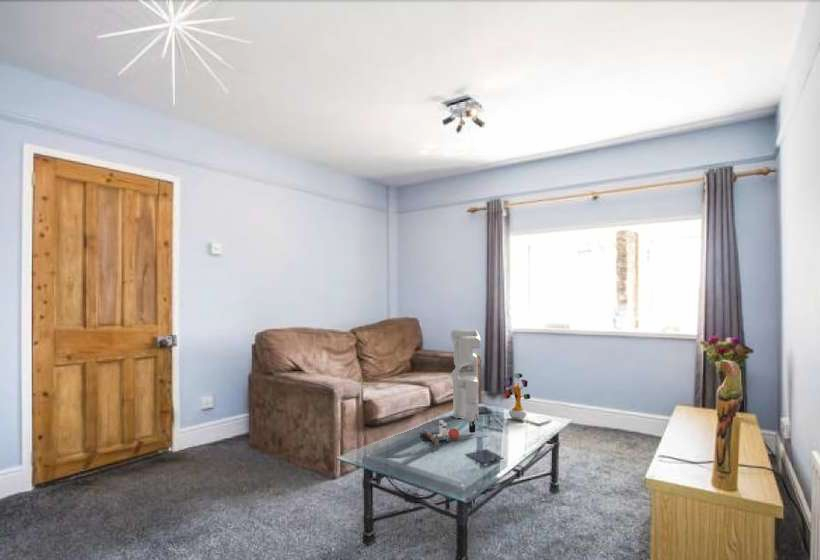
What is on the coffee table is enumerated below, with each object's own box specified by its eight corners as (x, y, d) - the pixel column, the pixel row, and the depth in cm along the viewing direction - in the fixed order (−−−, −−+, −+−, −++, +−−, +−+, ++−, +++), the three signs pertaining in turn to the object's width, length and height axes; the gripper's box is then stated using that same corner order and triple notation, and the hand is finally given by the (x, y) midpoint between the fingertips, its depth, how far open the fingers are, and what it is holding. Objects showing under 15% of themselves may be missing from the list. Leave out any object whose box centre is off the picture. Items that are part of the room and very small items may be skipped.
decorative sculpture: (500, 417, 291) (500, 371, 293) (508, 415, 296) (508, 370, 297) (525, 424, 275) (524, 376, 277) (533, 421, 280) (532, 374, 281)
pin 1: (438, 436, 253) (438, 420, 253) (442, 435, 254) (442, 420, 254) (440, 437, 250) (440, 421, 251) (444, 437, 251) (444, 421, 251)
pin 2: (441, 438, 248) (441, 422, 248) (445, 438, 249) (445, 422, 249) (443, 440, 246) (443, 423, 246) (447, 439, 246) (447, 423, 247)
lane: (431, 435, 253) (431, 435, 253) (479, 430, 262) (479, 430, 262) (438, 441, 243) (438, 441, 243) (487, 436, 252) (487, 436, 252)
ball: (445, 430, 247) (453, 424, 249) (447, 436, 251) (455, 430, 252) (451, 437, 243) (459, 430, 245) (454, 443, 246) (462, 436, 248)
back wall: (424, 434, 257) (424, 429, 257) (426, 433, 257) (426, 429, 257) (435, 445, 238) (435, 440, 238) (438, 444, 238) (438, 440, 238)
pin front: (446, 436, 252) (432, 438, 249) (446, 432, 252) (432, 433, 249) (448, 438, 249) (433, 439, 246) (448, 433, 249) (433, 435, 247)
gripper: (460, 398, 262) (461, 429, 261) (471, 403, 247) (471, 436, 247) (472, 397, 264) (472, 428, 263) (483, 402, 250) (483, 435, 249)
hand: (472, 432), depth 255 cm, fingers closed
